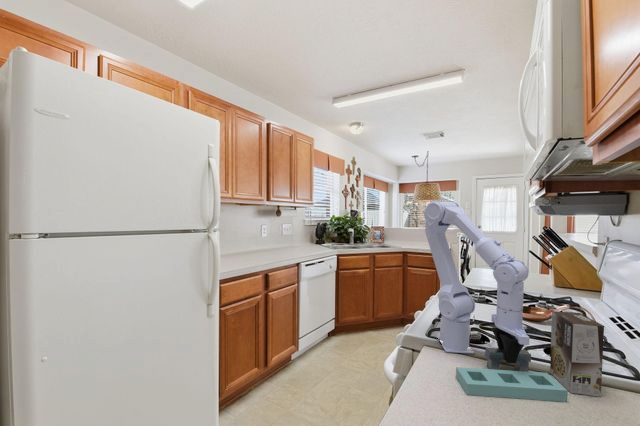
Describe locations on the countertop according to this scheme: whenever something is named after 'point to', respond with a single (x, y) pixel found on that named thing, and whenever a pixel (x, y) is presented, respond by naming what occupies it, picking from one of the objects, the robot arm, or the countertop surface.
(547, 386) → the teal slotted board
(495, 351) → the grey arch block
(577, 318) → the coffee box
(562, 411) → the countertop surface
